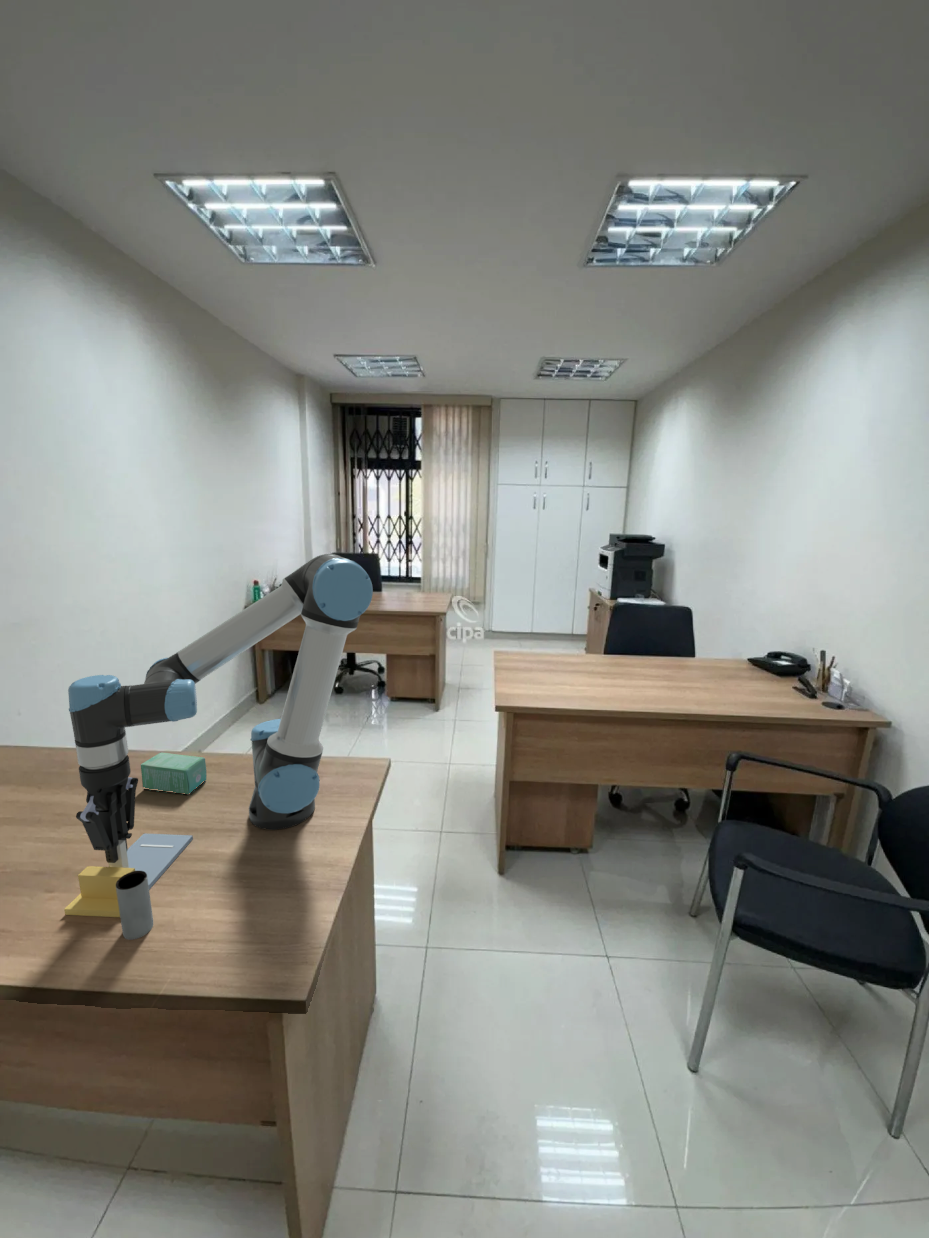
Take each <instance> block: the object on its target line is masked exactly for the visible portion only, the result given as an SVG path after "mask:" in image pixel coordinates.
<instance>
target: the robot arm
mask: <svg viewBox="0 0 929 1238" xmlns="http://www.w3.org/2000/svg"><path fill="white" fill-rule="evenodd" d="M373 589H374V588H373V584H372V580H371V578H370V575H369V574H368V573H367V571H366V570H365V569H364V568H363V567H362V566H361V565H360V564H359V563H357V562H356V561H354V560H350V558H345V557H343V556H341V555H338V554H334V553H324V554H320V555H317V556H315V557H314V558H311V559H310V560H308V561H307V562H306V563H304V564H303V565H301V566H300V567H299V568H297V569H296V570H294V571H293V572H292V573H290V574H289V575H287V576H285V577H284V578H283V579H282V581H281V585H280V586H278V587H277V588H275V589H274V590H272V591H271V592H269V593H267V594H266V595H265V596H262V597H261V598H260V599H258V600H257V601H255V602H254V603H252V604H250V605H249V606H247V607H246V608H244V609H242V610H241V611H239V612H238V613H236V614H235V615H233V616H232V617H230V618H227V620H225V621H224V622H222V623H221V624H219V625H218V626H216V627H215V628H213V629H211V630H210V631H208V632H207V633H205V634H203V635H201V637H199V638H197V639H196V640H194V641H193V642H191V643H190V644H188V645H187V646H185V647H183V648H181V649H180V650H179V651H177V652H176V653H174V654H172V655H171V656H169V657H163V658H161V659H158V660H156V661H155V662H154V663H152V665H151V666H150V667H149V669H148V670H147V671H146V674H145V679H144V683H141V684H134V685H133V684H132V685H131V684H129V685H121V682H120V679H119V677H117V676H116V675H115V676H114V675H111V674H106V675H104V674H99V675H98V674H97V675H96V674H95V675H90V676H86V677H82V678H79V679H77V680H75V681H74V682H72V683H71V684H70V685H69V686H68V690H67V691H68V692H67V693H68V706H69V708H68V712H69V714H70V715H69V716H70V720H71V725H72V732H73V737H74V743H75V750H76V755H77V756H76V757H77V763H78V765H79V767H78V773H79V779H80V780H79V781H80V784H81V786H82V787H83V788H84V789H85V791H86V798H85V801H86V805H85V807H84V809H83V810H81V811H78V812H77V813H76V815H75V818H76V820H78V821H80V822H81V824H82V826H83V827H84V830H85V832H86V835H87V836H88V839H89V841H90V843H91V846H92V848H93V850H94V851H104V854H105V860H106V861H105V862H106V863H108V867H121V868H129V865H128V857H127V849H128V848H129V847H128V841H127V839H131V838H132V835H133V833H131V832H129V831H131V830H133V829H134V827H135V815H136V813H135V811H136V793H137V786H138V782H139V778H138V777H129V776H130V775H131V772H132V770H131V763H130V756H129V755H128V754H129V746H128V740H127V732H126V728H130V727H137V726H143V725H145V726H146V725H153V724H160V723H169V722H172V723H173V722H178V721H181V720H185V719H186V720H187V719H191V718H193V717H195V716H196V715H197V712H198V703H197V702H198V701H197V688H196V684H197V683H199V682H200V681H201V680H203V679H205V678H206V677H207V676H209V675H210V674H212V673H213V672H215V671H217V670H218V669H220V668H221V667H222V666H224V665H226V664H227V663H229V662H230V661H232V660H233V659H235V658H236V657H239V655H240V654H242V653H244V652H245V651H247V650H248V649H250V648H252V647H253V646H255V645H256V644H257V643H258V642H261V641H262V640H264V639H265V638H266V637H268V636H270V635H272V634H273V633H274V632H276V631H277V630H279V629H280V628H282V627H283V626H284V625H286V624H288V623H290V622H292V620H294V619H295V618H298V616H300V617H301V618H302V619H303V621H304V623H305V628H304V631H303V635H302V639H301V642H300V646H299V649H298V653H297V654H298V655H297V658H296V661H295V665H294V668H293V673H292V676H291V679H290V683H289V688H288V691H287V695H286V697H285V698H286V700H285V703H284V706H283V711H282V712H281V716H280V717H281V718H275V719H271V720H267V721H263V722H260V723H258V724H256V725H254V727H252V729H251V730H250V731H251V732H250V734H251V735H250V737H251V738H250V741H251V748H252V749H251V752H252V753H251V754H252V764H253V765H252V766H253V775H254V776H253V778H254V789H253V792H252V795H251V799H250V803H249V806H248V817H249V821H250V823H251V824H252V825H253V826H255V827H257V828H259V829H262V830H268V831H269V830H270V831H271V830H272V831H275V830H276V831H277V830H282V829H288V828H291V827H293V826H296V825H298V824H299V825H300V824H302V822H304V821H306V820H307V819H308V818H310V817H311V815H313V813H314V811H315V809H316V808H315V807H316V800H315V798H316V797H317V795H318V794H319V792H320V786H321V785H320V781H321V779H320V776H319V774H318V771H319V768H320V767H319V766H320V764H321V763H320V762H321V759H322V755H323V752H324V745H322V743H321V741H320V740H319V739H320V735H321V732H322V729H323V728H322V727H323V725H324V721H325V717H326V714H327V711H328V710H327V709H328V706H329V703H330V699H331V695H332V691H333V688H334V685H335V680H336V677H337V674H338V670H339V666H340V663H341V659H342V655H343V652H344V649H345V644H346V641H347V637H348V635H349V634H350V633H352V632H355V630H357V628H358V625H359V621H360V617H361V615H363V614H364V613H365V612H366V611H367V609H368V608H369V607H370V605H371V602H372V599H373V594H374V592H373V591H374V590H373Z"/></svg>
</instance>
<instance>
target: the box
mask: <svg viewBox="0 0 929 1238" xmlns="http://www.w3.org/2000/svg"><path fill="white" fill-rule="evenodd" d="M140 771H141V773H140V774H141V781H142V788H143V787H145V788H149V789H158V790H163V791H173V792H176V793H185V794H189V793H191V792H192V791H193V790H194V789H196V787H198V786H199V785H200V784H201V783H202V782H203V781H205V780H206V781H207V762H206V758H205V757H204V756H203V757H202V756H195V755H186V754H177V753H169V752H159V753H157V754H156V755H154V756H152V757H151V758H149V759H147V760H145V761H144V762H142V763H141V764H140ZM206 781H205V782H206ZM199 787H200V786H199ZM199 787H198V788H199ZM196 790H197V789H196ZM194 791H195V790H194ZM194 791H193V792H194ZM193 792H192V793H193ZM192 793H191V794H192Z"/></svg>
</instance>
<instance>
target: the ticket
mask: <svg viewBox="0 0 929 1238" xmlns="http://www.w3.org/2000/svg"><path fill="white" fill-rule="evenodd" d="M193 837H194V836H193V835H191V834H169V833H168V834H167V833H143V834H142V835H141V836H139V838H138V839H137V840H136V841H135V842H133V843H132V844H131V845H130V846H129V847H128V848H127V857H128V865H129V868H135V871H144V872H146V873H147V878H148V885H149V890H151V888H152V887H154V885H155V884H156V883H157V882H158V880H159V879H160V878H161V877H162V875H164V873H165V872H167V870H168V869H169V867H170V866H172V864H173V863H174V862H175V860H176V859H177V858H178V857H179V856H180V855H181V854H182V853H183V852H184V850H185V849H187V847H188V845H189V844H190V843H191V842H192V841H193V840H194V838H193Z"/></svg>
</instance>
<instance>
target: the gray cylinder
mask: <svg viewBox="0 0 929 1238" xmlns="http://www.w3.org/2000/svg"><path fill="white" fill-rule="evenodd" d="M116 892H117V899H118V905H119V912H120V917H119V918H120V924H121V930H122V931H121V932H122V935H123V938H124V939H126V940H129V941H131V940H137V939H141V938H142V937H144V936H146V935H147V934H148V933H149V932H150V931H151V930H152V929H153V927H154V915H153V909H152V901H151V896H150V895H151V894H150V889H149V885H148V878H147V873H146V872H144V871H133V872H130V873H127V874H125V875H124V876H122V877H121V878H120V879H119V880H118V881H117V882H116Z"/></svg>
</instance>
